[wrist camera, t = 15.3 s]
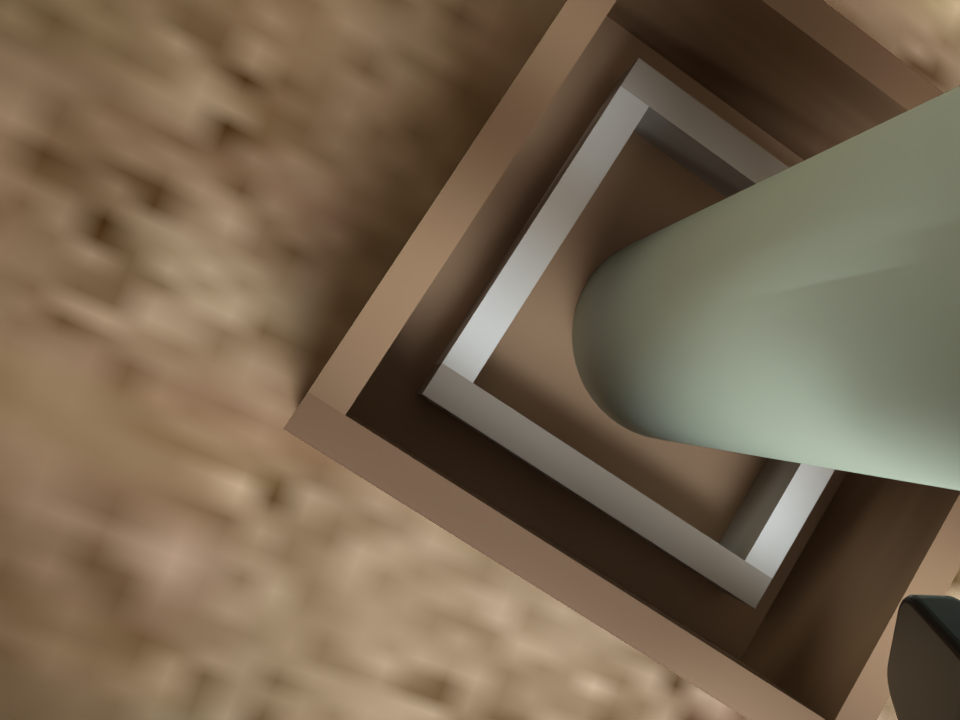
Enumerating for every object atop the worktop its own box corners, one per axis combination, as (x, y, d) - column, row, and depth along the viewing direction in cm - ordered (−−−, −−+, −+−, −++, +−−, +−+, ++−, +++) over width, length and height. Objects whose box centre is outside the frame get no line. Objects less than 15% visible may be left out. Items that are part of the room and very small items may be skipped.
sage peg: (633, 477, 21) (1225, 664, 7) (535, 296, 20) (946, 110, 7) (798, 377, 21) (1631, 364, 8) (706, 201, 21) (1394, -142, 7)
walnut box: (730, 690, 22) (844, 779, 17) (297, 417, 20) (283, 428, 15) (969, 271, 23) (1137, 241, 19) (582, -14, 22) (653, -130, 17)
